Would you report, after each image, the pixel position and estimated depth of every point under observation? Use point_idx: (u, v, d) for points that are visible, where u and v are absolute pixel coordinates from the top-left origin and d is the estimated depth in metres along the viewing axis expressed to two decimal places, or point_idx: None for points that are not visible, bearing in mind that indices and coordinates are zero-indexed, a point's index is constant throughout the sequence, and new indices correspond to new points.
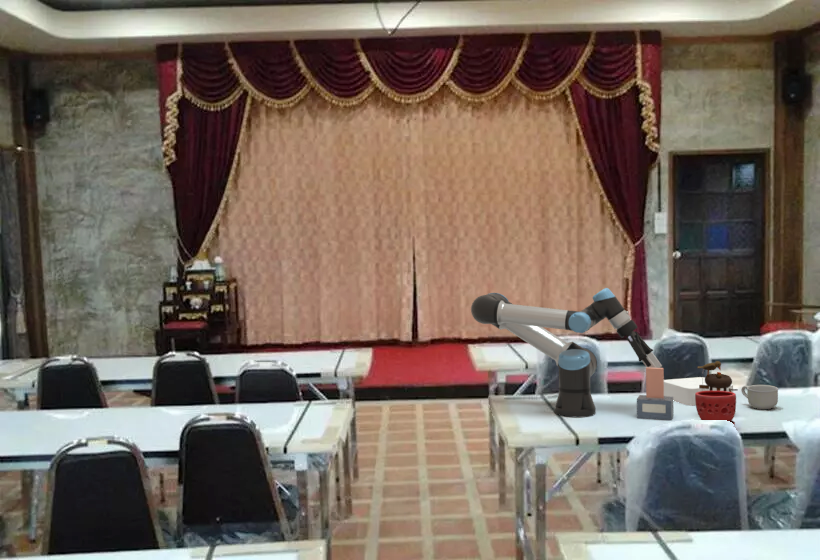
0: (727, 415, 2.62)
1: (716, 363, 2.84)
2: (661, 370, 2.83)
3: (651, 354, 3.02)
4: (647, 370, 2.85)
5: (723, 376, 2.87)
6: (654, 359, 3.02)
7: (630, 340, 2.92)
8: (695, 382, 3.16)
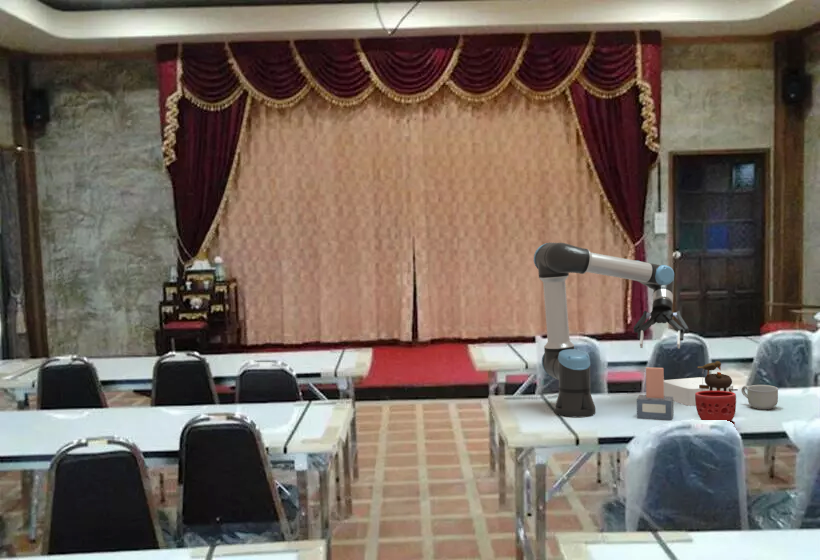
0: (727, 415, 2.62)
1: (716, 363, 2.84)
2: (661, 370, 2.83)
3: (643, 335, 3.03)
4: (647, 370, 2.85)
5: (723, 376, 2.87)
6: None
7: (680, 315, 3.02)
8: (695, 382, 3.16)
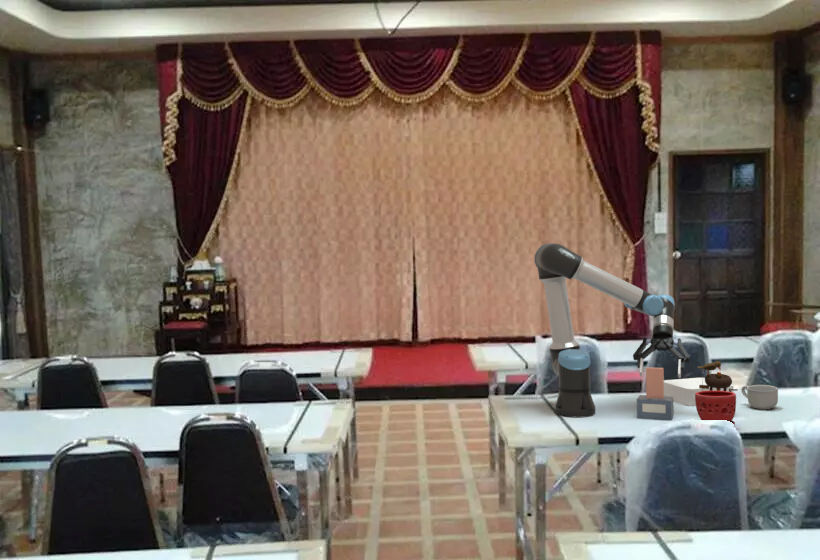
0: (727, 415, 2.62)
1: (716, 363, 2.84)
2: (661, 370, 2.83)
3: None
4: (647, 370, 2.85)
5: (723, 376, 2.87)
6: (642, 367, 2.93)
7: None
8: (695, 382, 3.15)
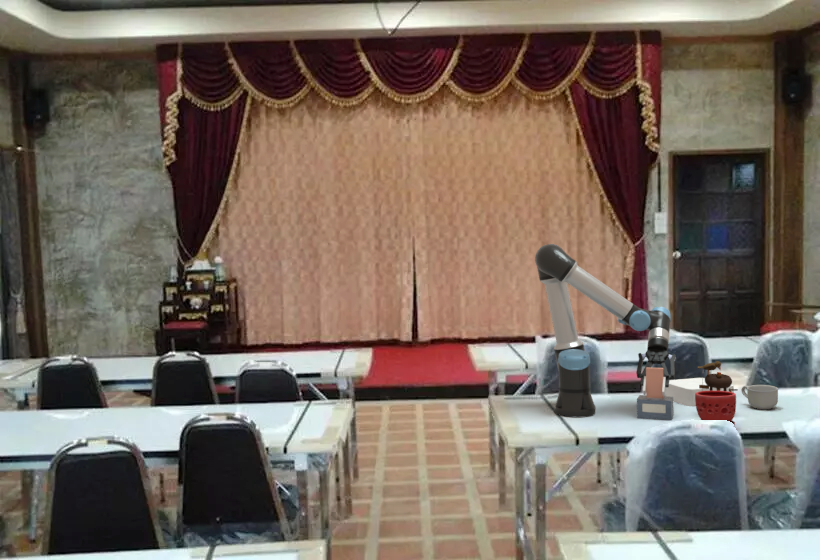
0: (727, 415, 2.62)
1: (716, 363, 2.84)
2: (661, 370, 2.83)
3: None
4: (647, 370, 2.85)
5: (723, 376, 2.87)
6: None
7: (674, 359, 2.89)
8: (695, 383, 3.15)
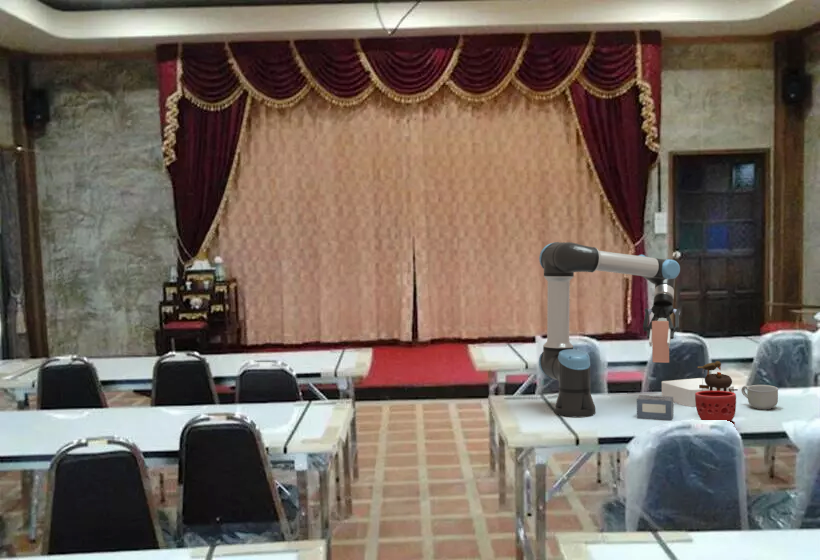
0: (727, 415, 2.62)
1: (716, 363, 2.84)
2: (666, 323, 3.00)
3: None
4: (653, 323, 3.02)
5: (723, 376, 2.87)
6: None
7: (679, 313, 3.05)
8: (695, 383, 3.14)
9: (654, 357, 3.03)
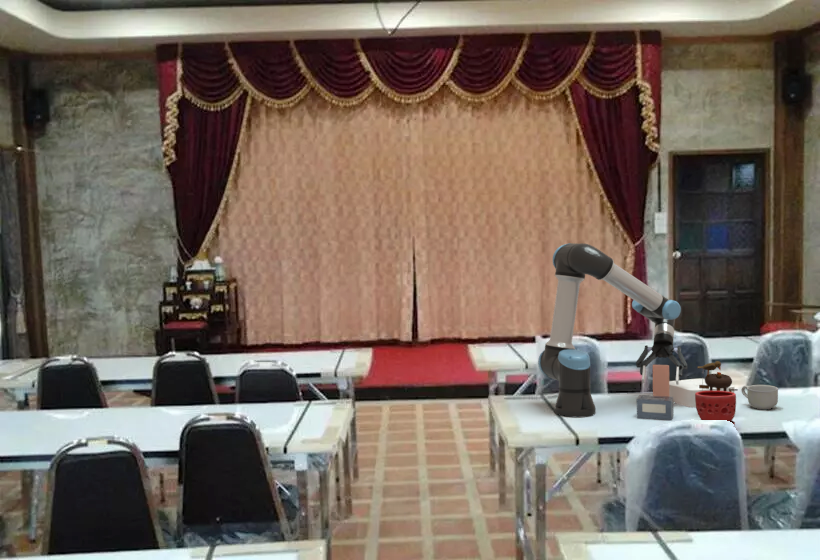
0: (727, 415, 2.62)
1: (716, 363, 2.84)
2: (667, 367, 3.02)
3: (645, 370, 3.08)
4: (654, 367, 3.04)
5: (723, 376, 2.87)
6: None
7: (680, 350, 3.07)
8: (696, 383, 3.13)
9: None
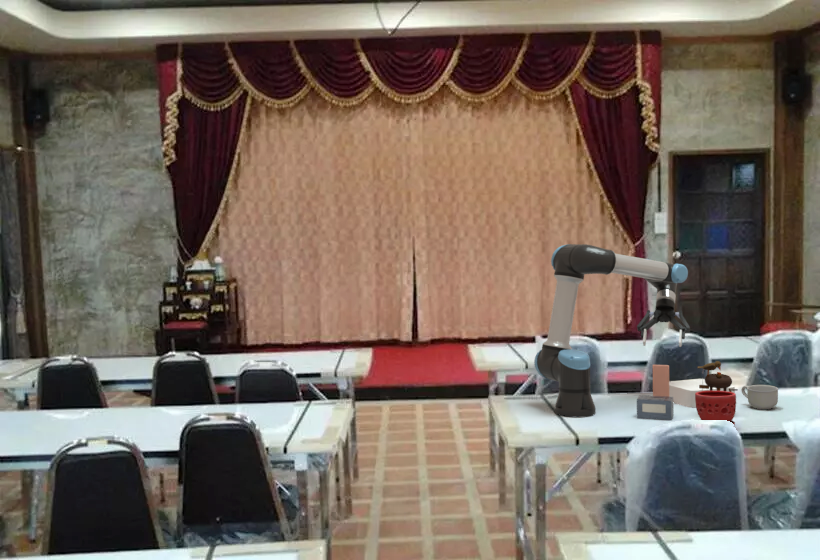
0: (727, 415, 2.62)
1: (716, 363, 2.84)
2: (667, 367, 3.02)
3: (646, 333, 3.15)
4: (653, 367, 3.04)
5: (723, 376, 2.87)
6: (645, 337, 3.13)
7: None
8: (696, 384, 3.12)
9: None
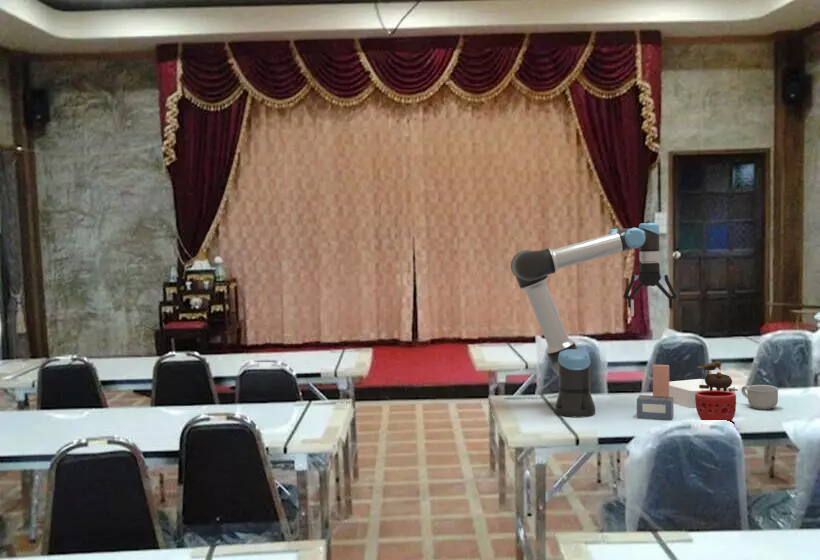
0: (727, 415, 2.62)
1: (716, 363, 2.84)
2: (667, 367, 3.02)
3: (633, 301, 3.10)
4: (653, 367, 3.04)
5: (723, 376, 2.87)
6: (633, 306, 3.10)
7: (668, 278, 3.03)
8: (696, 384, 3.12)
9: None
